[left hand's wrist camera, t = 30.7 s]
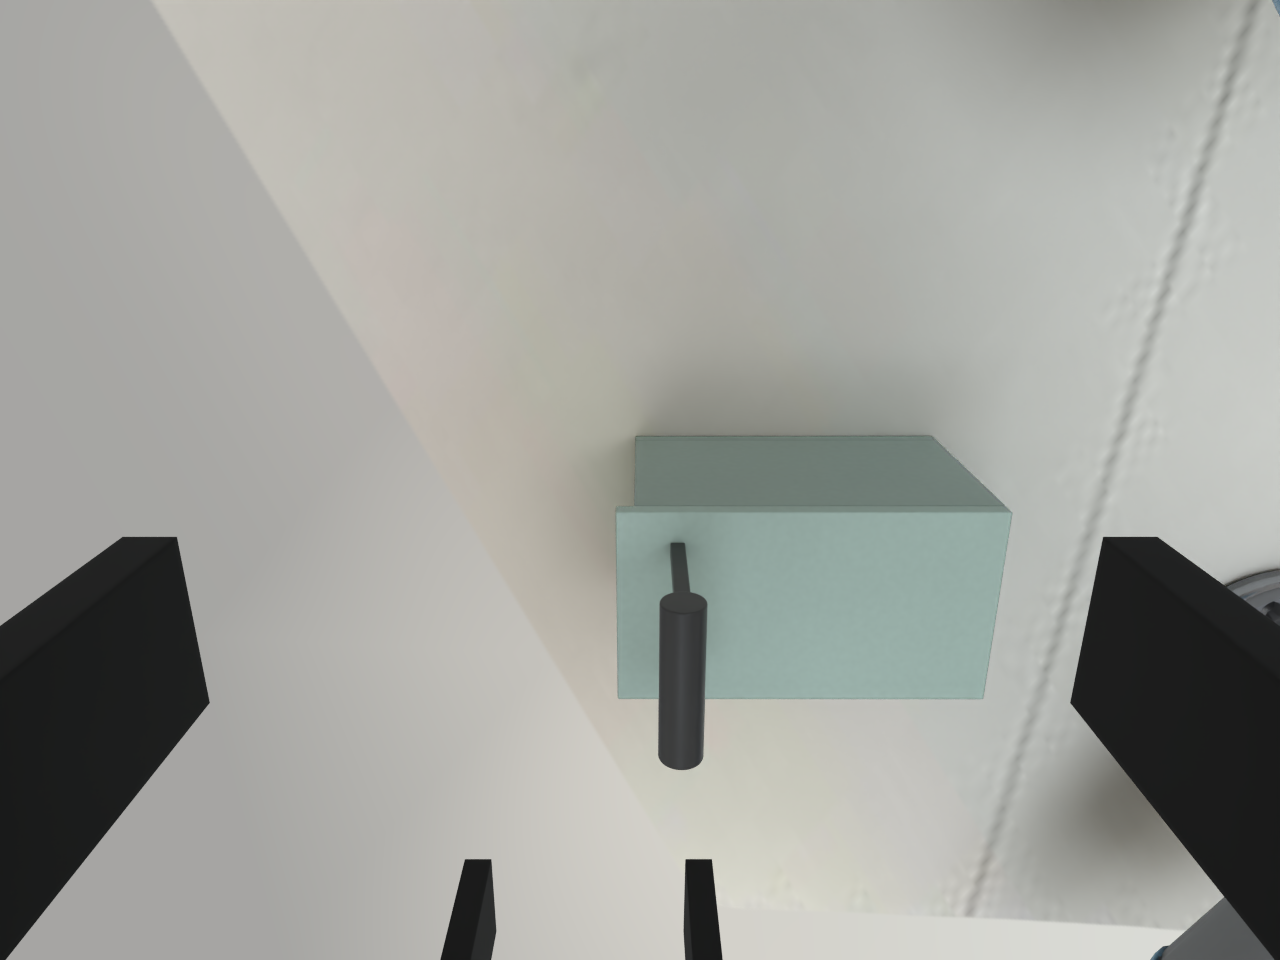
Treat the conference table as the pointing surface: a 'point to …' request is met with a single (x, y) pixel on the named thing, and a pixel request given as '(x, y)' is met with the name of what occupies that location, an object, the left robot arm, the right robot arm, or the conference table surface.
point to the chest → (802, 472)
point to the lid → (802, 606)
